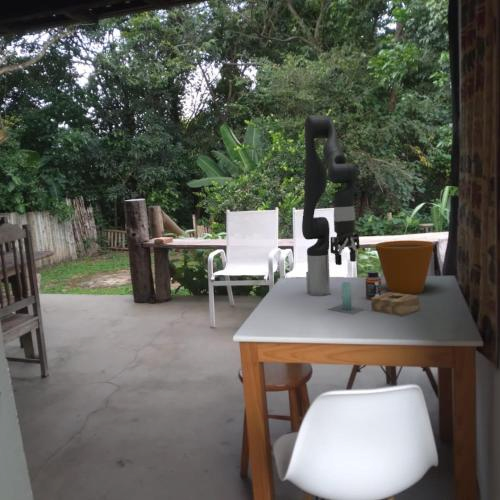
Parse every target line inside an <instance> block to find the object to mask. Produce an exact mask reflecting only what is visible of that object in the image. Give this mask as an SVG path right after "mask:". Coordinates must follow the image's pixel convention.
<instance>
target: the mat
mask: <svg viewBox="0 0 500 500" xmlns="http://www.w3.org/2000/svg"><path fill="white" fill-rule="evenodd" d="M366 310H367V311H368V308H363V307H357V306H352V305H351V310H343V304H339V305H337V306H334V307H330V308H328V309H327V311H332V312H338V313H342V314H343V313H344V314H348V315H356V314H359V313H362V312H364V311H366Z"/></svg>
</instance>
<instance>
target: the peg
mask: <svg viewBox="0 0 500 500" xmlns="http://www.w3.org/2000/svg"><path fill="white" fill-rule="evenodd" d="M341 286H342V288H341V289H342V305H343V310H351V306H352V294H351V293H352V289H351V286H352V285H351V282H349V281H348V282H347V281H345V282H342V283H341Z"/></svg>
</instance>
